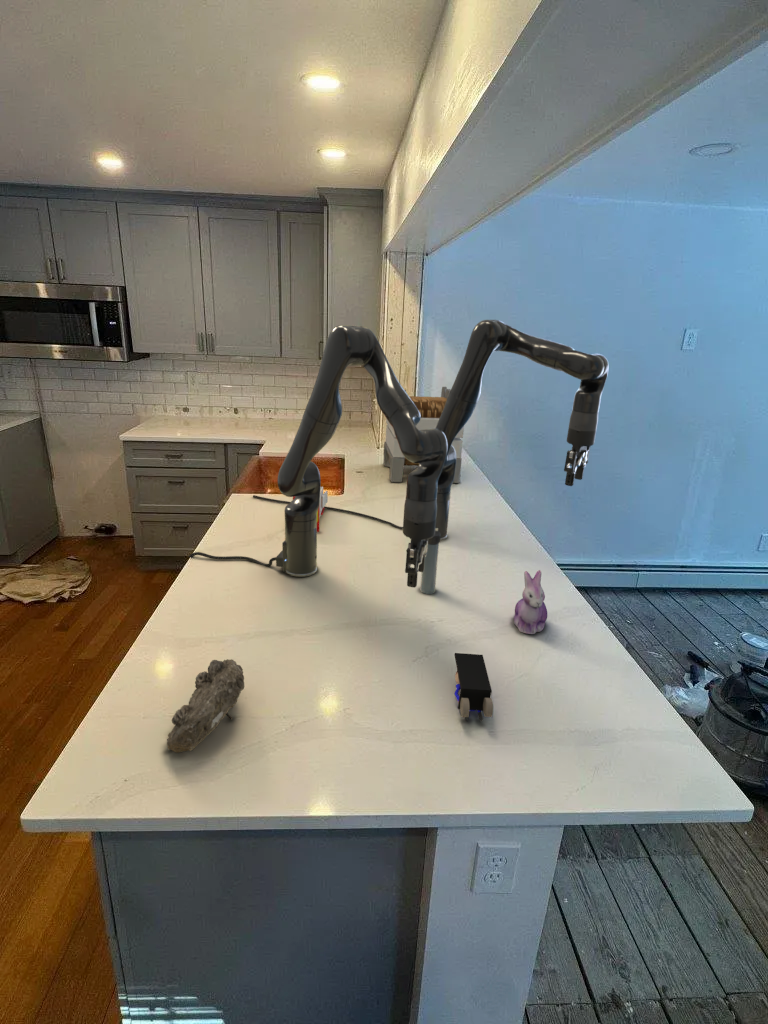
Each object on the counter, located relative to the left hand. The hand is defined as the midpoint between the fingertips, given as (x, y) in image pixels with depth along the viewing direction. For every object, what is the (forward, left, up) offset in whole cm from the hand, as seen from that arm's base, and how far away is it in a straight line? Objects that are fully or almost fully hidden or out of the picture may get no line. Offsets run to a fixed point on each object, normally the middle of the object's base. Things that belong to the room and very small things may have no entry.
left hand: (415, 578), depth 136 cm
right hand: (+37, +47, +15) cm, 61 cm away
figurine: (+28, +11, -14) cm, 34 cm away
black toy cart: (+17, -24, -14) cm, 33 cm away
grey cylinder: (0, +22, -14) cm, 26 cm away
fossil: (-30, -43, -14) cm, 54 cm away
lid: (0, +22, +3) cm, 22 cm away
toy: (-52, +63, -14) cm, 83 cm away
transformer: (-26, +140, -14) cm, 144 cm away
